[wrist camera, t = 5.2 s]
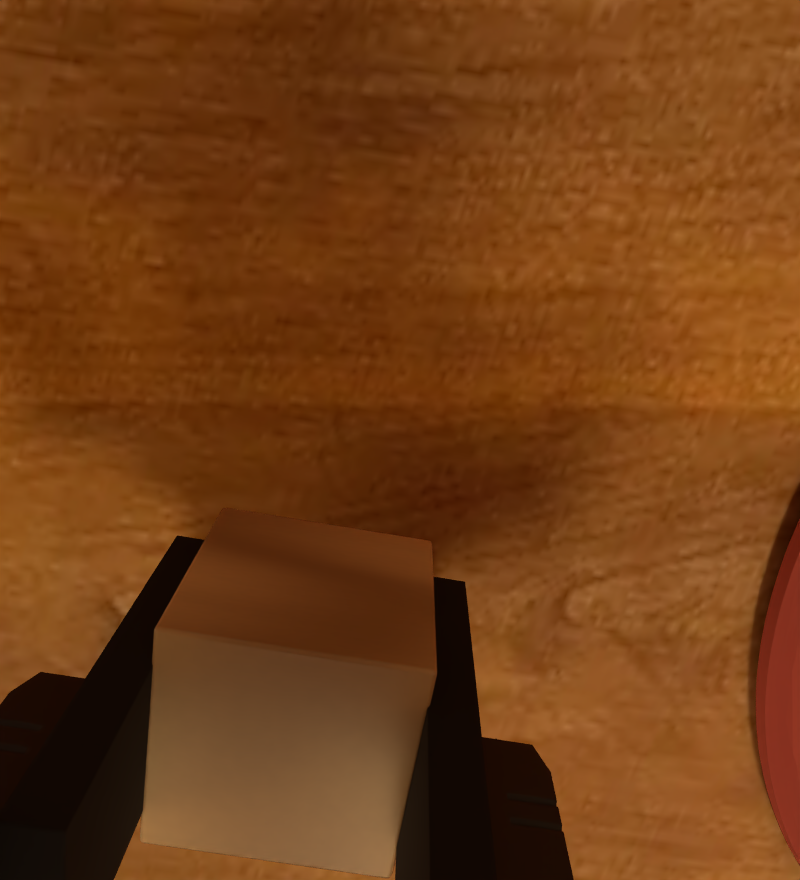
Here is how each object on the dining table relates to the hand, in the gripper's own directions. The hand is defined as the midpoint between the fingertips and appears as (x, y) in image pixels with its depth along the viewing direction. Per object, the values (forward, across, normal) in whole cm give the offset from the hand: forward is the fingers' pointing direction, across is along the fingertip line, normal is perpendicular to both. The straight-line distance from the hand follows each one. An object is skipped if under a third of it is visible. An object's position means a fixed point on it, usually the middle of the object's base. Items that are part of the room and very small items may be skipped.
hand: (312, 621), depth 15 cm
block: (0, 0, 0) cm, 0 cm away
